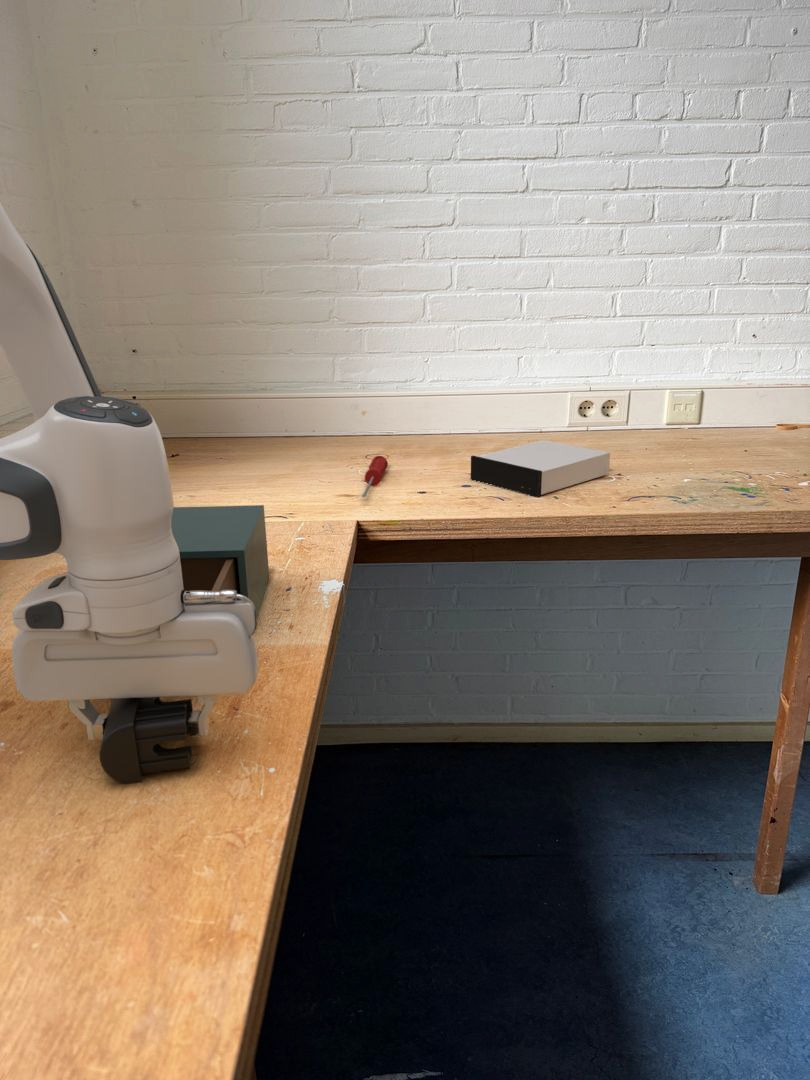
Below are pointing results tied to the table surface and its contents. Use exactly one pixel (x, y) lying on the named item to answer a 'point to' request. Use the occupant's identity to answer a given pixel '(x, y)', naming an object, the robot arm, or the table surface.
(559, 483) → the disc drive
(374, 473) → the screwdriver
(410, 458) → the table surface
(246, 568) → the cabinet
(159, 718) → the end cap
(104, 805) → the table surface
